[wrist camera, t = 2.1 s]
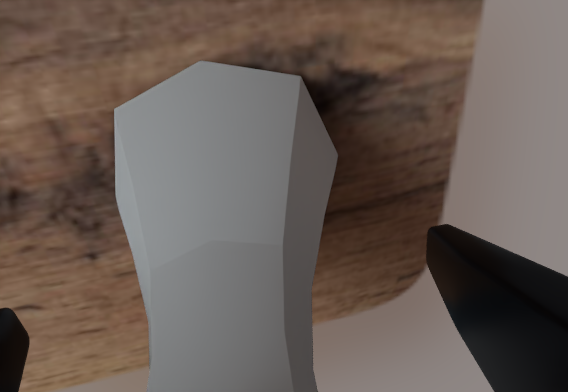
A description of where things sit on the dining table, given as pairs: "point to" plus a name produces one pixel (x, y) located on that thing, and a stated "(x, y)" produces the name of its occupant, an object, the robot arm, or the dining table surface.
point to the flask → (225, 225)
